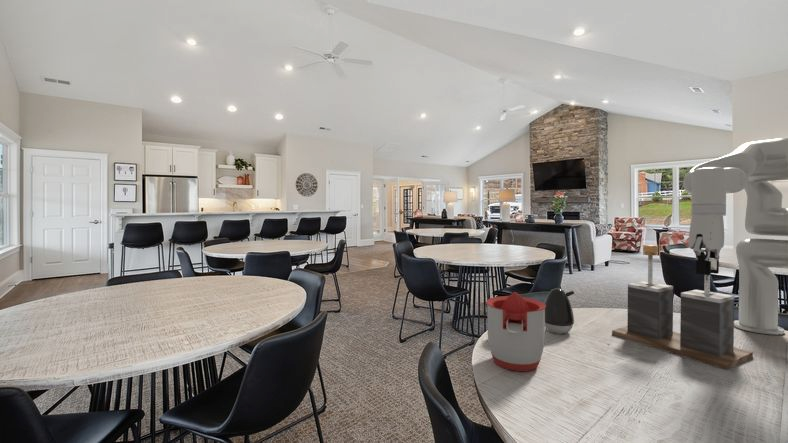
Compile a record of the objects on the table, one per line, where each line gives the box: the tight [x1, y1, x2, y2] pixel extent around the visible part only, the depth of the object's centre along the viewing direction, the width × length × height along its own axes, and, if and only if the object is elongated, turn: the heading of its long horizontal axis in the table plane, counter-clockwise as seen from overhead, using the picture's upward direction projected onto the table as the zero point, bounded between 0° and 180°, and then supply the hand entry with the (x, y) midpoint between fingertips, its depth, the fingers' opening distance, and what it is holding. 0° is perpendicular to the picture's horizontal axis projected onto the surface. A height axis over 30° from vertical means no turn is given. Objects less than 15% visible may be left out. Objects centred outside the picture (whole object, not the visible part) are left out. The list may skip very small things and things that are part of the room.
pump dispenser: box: [543, 287, 575, 335], centre depth 123 cm, size 10×10×15 cm
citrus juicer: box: [485, 291, 546, 372], centre depth 97 cm, size 16×17×20 cm
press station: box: [611, 280, 754, 370], centre depth 109 cm, size 16×30×18 cm, turn 27°
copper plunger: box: [642, 244, 659, 286], centre depth 115 cm, size 7×7×20 cm
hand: (707, 272), depth 102 cm, fingers closed on ivory plunger, 4 cm apart
